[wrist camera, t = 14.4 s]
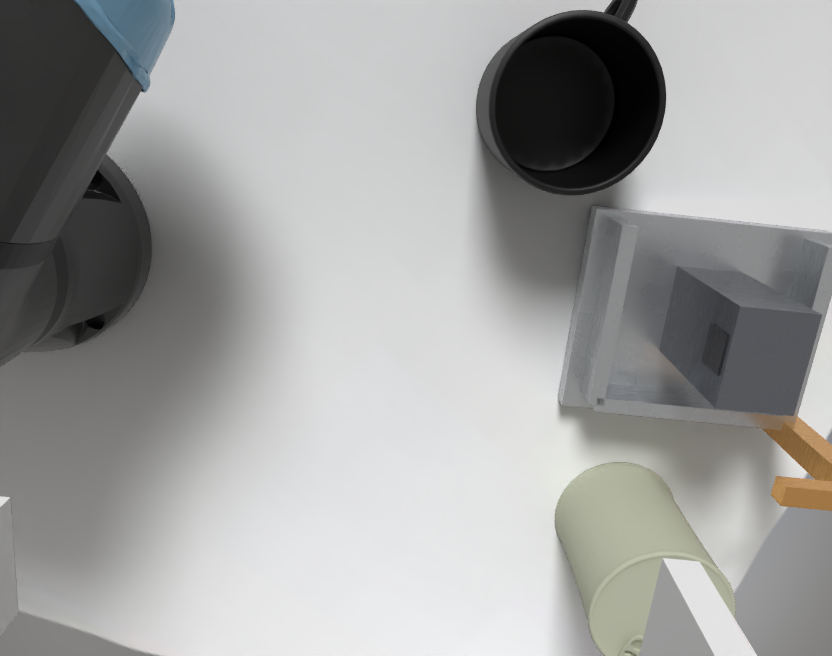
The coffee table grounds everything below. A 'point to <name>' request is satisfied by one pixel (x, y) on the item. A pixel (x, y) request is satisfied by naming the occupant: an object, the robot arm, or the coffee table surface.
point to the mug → (573, 101)
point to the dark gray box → (738, 340)
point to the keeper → (646, 313)
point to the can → (625, 549)
